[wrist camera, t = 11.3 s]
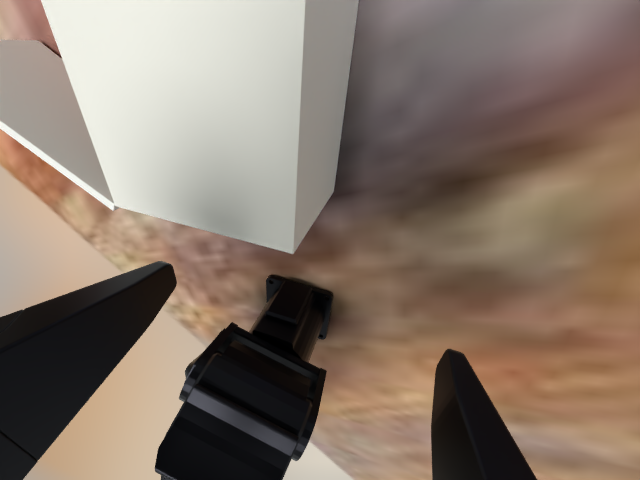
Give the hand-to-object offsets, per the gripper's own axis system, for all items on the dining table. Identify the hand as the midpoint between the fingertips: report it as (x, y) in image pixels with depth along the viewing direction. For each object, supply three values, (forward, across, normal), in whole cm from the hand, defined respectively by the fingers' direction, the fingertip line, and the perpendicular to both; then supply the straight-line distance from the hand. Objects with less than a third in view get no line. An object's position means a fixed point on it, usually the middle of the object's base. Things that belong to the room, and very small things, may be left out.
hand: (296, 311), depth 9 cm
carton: (+13, +8, -5) cm, 16 cm away
